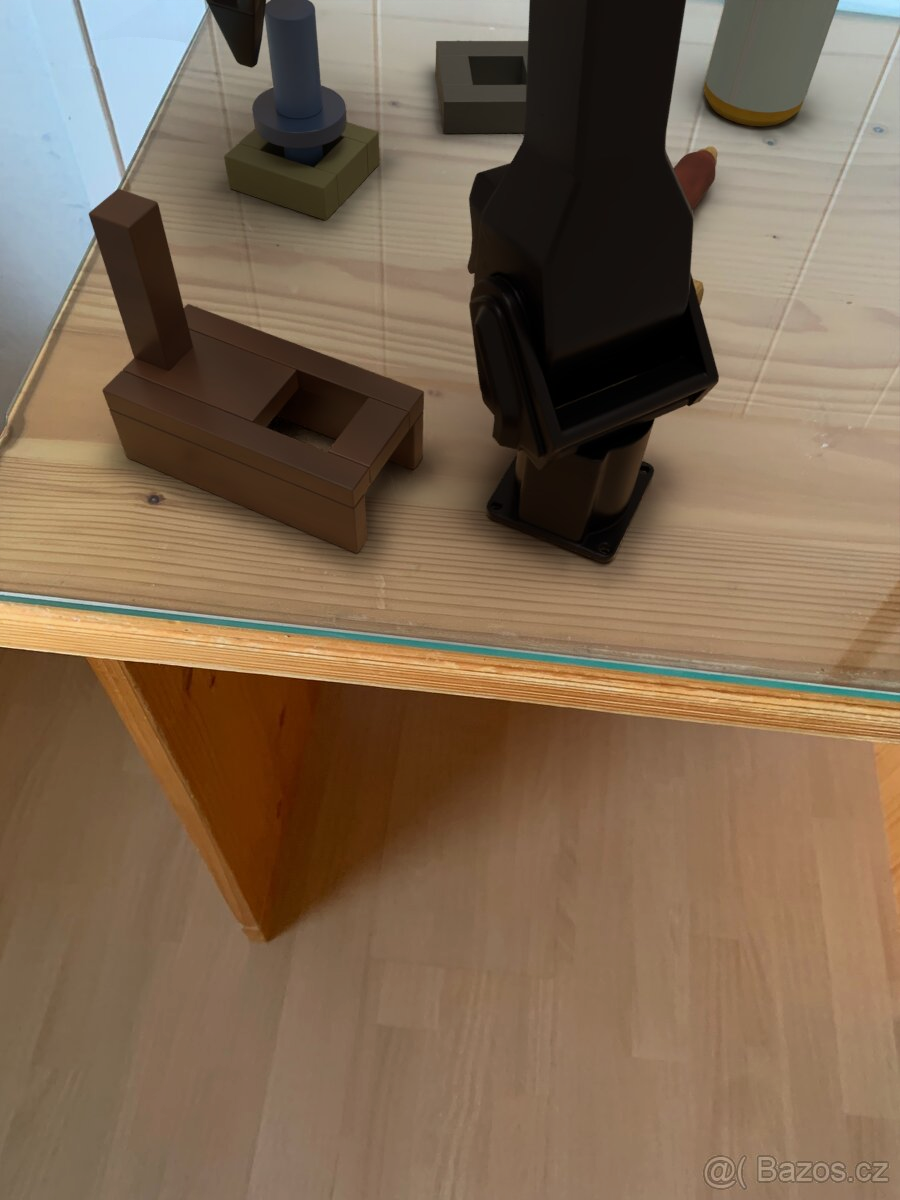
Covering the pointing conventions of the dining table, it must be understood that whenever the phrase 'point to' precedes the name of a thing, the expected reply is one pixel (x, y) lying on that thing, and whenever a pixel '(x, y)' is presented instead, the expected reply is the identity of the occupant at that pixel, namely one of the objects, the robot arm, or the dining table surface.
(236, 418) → the stand
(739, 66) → the bottle
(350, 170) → the frame
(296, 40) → the peg
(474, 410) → the dining table surface
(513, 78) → the block
